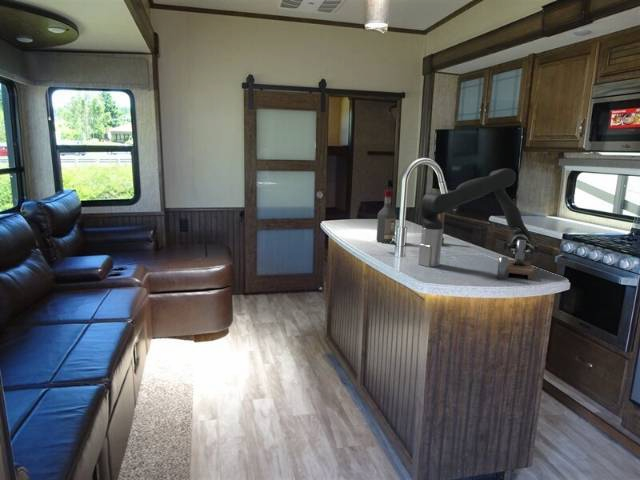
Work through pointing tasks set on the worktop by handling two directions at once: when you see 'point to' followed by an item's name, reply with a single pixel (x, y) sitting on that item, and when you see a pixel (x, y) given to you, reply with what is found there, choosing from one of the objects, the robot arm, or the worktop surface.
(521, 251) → the long pin
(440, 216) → the wooden block
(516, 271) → the plate
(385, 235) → the liquor
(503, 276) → the short pin
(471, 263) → the worktop surface
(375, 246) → the worktop surface
